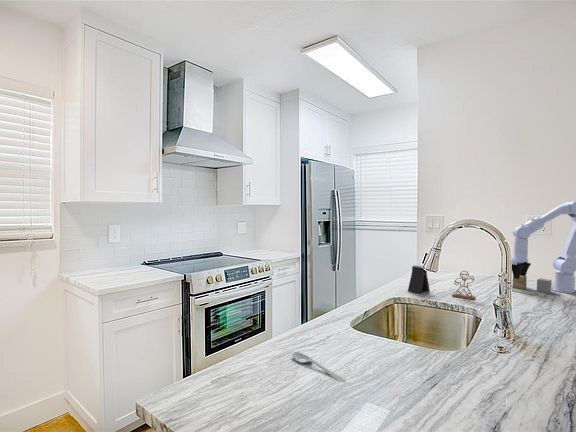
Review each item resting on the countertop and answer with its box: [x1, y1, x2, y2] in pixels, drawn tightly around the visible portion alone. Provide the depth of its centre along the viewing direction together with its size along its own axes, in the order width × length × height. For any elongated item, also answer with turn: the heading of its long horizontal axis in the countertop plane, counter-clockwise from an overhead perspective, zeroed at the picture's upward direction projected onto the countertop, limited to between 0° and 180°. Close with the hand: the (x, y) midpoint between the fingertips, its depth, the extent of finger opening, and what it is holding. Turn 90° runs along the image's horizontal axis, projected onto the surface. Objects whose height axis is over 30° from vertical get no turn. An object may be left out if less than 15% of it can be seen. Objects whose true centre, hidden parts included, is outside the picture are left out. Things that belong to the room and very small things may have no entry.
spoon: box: [292, 351, 347, 383], centre depth 89 cm, size 4×21×2 cm, turn 41°
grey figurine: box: [451, 270, 476, 301], centre depth 160 cm, size 9×4×12 cm, turn 52°
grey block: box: [536, 278, 552, 294], centre depth 172 cm, size 4×4×6 cm
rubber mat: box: [511, 288, 540, 296], centre depth 171 cm, size 6×12×1 cm, turn 37°
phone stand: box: [407, 265, 431, 295], centre depth 170 cm, size 9×6×12 cm, turn 127°
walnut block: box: [512, 275, 528, 289], centre depth 179 cm, size 4×4×6 cm
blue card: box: [511, 284, 534, 291], centre depth 179 cm, size 9×9×1 cm
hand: (519, 277), depth 179 cm, fingers open, 7 cm apart
